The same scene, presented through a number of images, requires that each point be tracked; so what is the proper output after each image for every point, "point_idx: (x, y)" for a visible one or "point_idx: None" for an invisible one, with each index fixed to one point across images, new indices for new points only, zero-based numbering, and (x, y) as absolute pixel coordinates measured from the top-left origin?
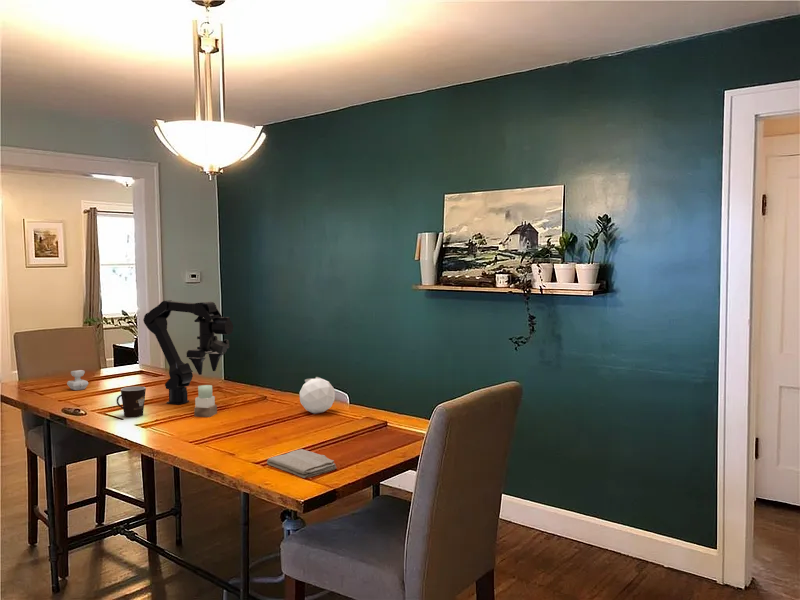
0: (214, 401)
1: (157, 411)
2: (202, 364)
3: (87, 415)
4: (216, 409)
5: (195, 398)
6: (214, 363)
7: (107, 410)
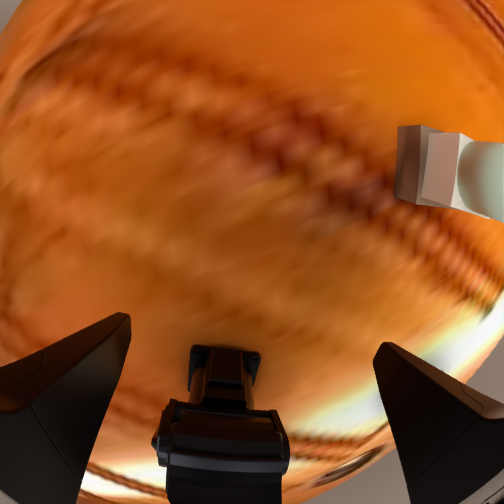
0: (442, 133)
1: (367, 361)
2: (461, 398)
3: (384, 441)
4: (411, 127)
5: (487, 217)
6: (88, 385)
7: (342, 446)
